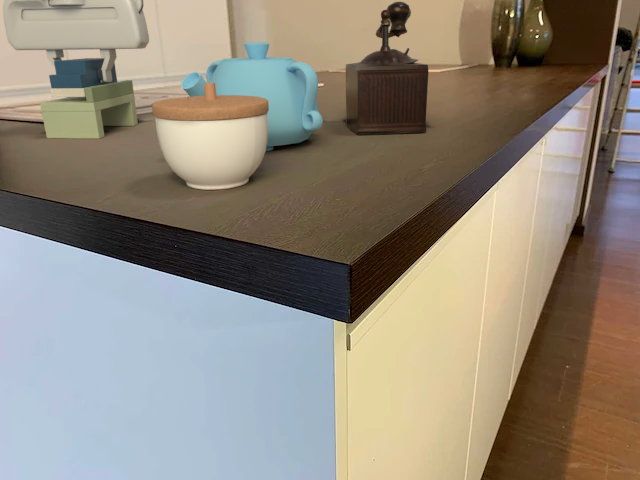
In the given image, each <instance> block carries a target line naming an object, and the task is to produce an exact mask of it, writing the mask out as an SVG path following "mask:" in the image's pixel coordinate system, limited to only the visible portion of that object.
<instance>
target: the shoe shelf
mask: <svg viewBox="0 0 640 480" xmlns="http://www.w3.org/2000/svg"><path fill="white" fill-rule="evenodd" d="M85 94H86V97H61V98H57V99H52V100H47V101H42V102H39V105H40V110H41V111H40V112H41V115H42V120H43V125H44V131H45V137H46V139H75V140H76V139H78V140H79V139H80V140H81V139H84V140H85V139H88V140H89V139H90V140H91V139H92V140H93V139H94V140H95V139H96V140H97V139H99V140H100V139H102V138H105V131H104V127H118V126H119V127H136V126H138V125H139V122H138V121H139V120H138V114H137V107H136V100H135V92H134V85H133V80H131V79H129V80H128V79H127V80H121V81H117V82H115V83H109V84H104V85H98V86H93V87H87V88H85Z"/></svg>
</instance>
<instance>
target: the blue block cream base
mask: <svg viewBox="0 0 640 480" xmlns="http://www.w3.org/2000/svg"><path fill="white" fill-rule="evenodd" d="M104 59H105V58H102V57H90V58H88V57H86V58H72V59H62V60H60V61H54V64H55V67H54V70H55V74H49V75H48V78H49V82H50V89H49V90H50V96H51V97H52V98H67V97H86V94H85V88H87V87H93V86H98V85H104V84H109V83H115V82H118V77H117V70H116V61H115V62H114V65H113V67H112V69H111V74H112V82H98V79H97V77H98V76H97V73H96V70H101V68H102V65H103V62H104Z"/></svg>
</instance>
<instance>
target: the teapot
mask: <svg viewBox="0 0 640 480" xmlns="http://www.w3.org/2000/svg"><path fill="white" fill-rule="evenodd" d="M243 45H244V49H245V52H246V54H247V56H248V57H232V58H222V59H221V60H220V59H219V60H216V61H213V62H212V63H210V64H209V65H208V66H207V68H206V74H205V78H206V80H205V79H204V77H203V75H201V73H200V72H198V71H193V72H190V73H188V74H187V75H186V76H184V78H183V79H182V81H181V82H180V83H181V84H180V86H181V88H182V89H183V90H184V92H186V94H187V95H188V97H192V96H205V90H204V83H215V87H216V95H242V96H255V97H261V98H265V99H267V100H268V104H269V111H268V140H267V146H266V151H265V152H269V151H273V150H274V147H275V146H277V147H278V146H285V145H291V144H300V143H302V142H304V141H306V140H308V139H309V138H310V137H311V135H312V134H313V133H314V132H316V131H319V130H320V129H321V127H322V126H323V123H324V122H323V117H322V114H321V113H320V110H319V105H318V101H317V96H318V91H319V78H318V75H317V72H316V70H315V69H314V67H312V66H311V65H310V64H308V63H306V62H303V61H296V60H295V59H293V57H288V56H287V57H285V56H267V55H268V52H269V48H270V43H269V42H264V41H254V42H253V41H252V42H246V43H244V44H243Z"/></svg>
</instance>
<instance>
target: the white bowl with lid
mask: <svg viewBox="0 0 640 480" xmlns="http://www.w3.org/2000/svg"><path fill="white" fill-rule="evenodd" d="M204 90H205V96H192V97H190V96H181V97H173V98H167V99H162V100H158V101H157V100H156V101H155V102H153V103H152V105H151V111H152V116H153V117H154V123H155V130H156V137H157V140H158V144H159V145H158V146H159V147H160V151H161V153H162V156H163V157H164V160H165V162H166V163H167V165H168V167H169V168H170V169H171V170H172V172H174V174H175V175H177V176H178V177H179V178H181V179H182V180H183V181H185V184H186V186H187V187H189V188H192V189H197V190H208V191H209V190H210V191H211V190H214V191H215V190H226V189H233V188H238V187H241V186H243V185H246V184H247V183H249V181H250V177H251V176H252V175H253V174H254V173H255V172H256V171H257V169H258V168H259V167H260V165H261V164H262V161H263V160H264V157H265V154H266V152H267V151H266V146H267V140H268V111H269V104H268V100H267V99H265V98H261V97H255V96H242V95H216V87H215V83H204Z"/></svg>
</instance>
